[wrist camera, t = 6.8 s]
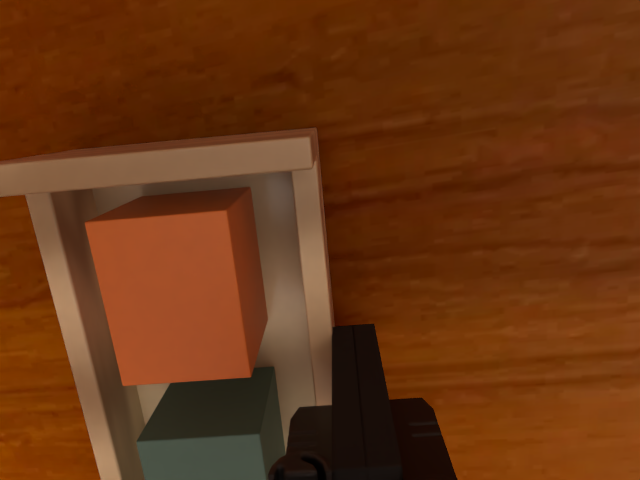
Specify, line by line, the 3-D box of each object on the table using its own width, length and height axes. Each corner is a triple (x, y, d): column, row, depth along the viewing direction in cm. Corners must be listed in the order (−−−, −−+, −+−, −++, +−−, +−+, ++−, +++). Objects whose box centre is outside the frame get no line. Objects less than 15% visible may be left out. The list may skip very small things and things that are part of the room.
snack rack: (76, 149, 17) (-53, 169, 11) (316, 127, 17) (310, 136, 11) (155, 497, 21) (91, 640, 16) (348, 486, 21) (356, 628, 15)
